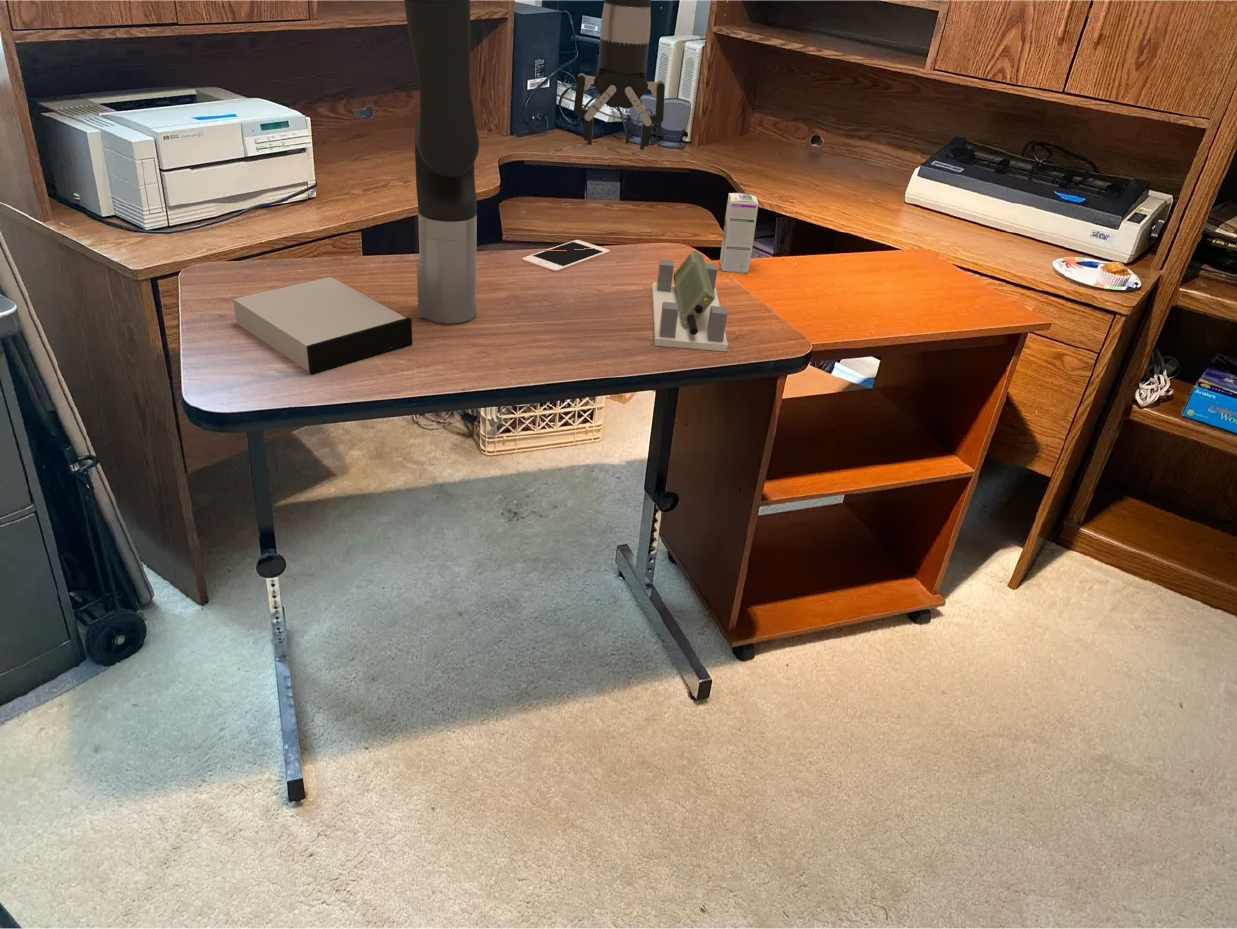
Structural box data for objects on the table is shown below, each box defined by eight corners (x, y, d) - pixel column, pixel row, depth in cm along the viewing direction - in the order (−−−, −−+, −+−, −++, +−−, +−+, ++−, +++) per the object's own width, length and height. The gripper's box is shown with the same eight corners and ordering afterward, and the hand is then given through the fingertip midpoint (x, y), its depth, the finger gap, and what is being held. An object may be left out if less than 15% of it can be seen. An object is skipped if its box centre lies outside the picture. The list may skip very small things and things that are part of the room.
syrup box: (749, 273, 187) (760, 202, 179) (720, 271, 187) (730, 199, 179) (746, 264, 192) (757, 194, 184) (717, 261, 192) (728, 191, 184)
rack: (654, 345, 153) (658, 310, 150) (652, 288, 175) (655, 257, 172) (726, 351, 153) (732, 316, 150) (714, 294, 175) (719, 262, 172)
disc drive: (312, 378, 134) (309, 347, 131) (235, 327, 146) (231, 297, 144) (413, 348, 145) (412, 318, 143) (333, 303, 158) (331, 275, 155)
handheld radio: (684, 285, 174) (697, 343, 153) (670, 275, 173) (681, 332, 152) (706, 257, 171) (723, 312, 150) (692, 247, 170) (707, 301, 149)
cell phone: (520, 262, 182) (521, 258, 182) (577, 243, 195) (577, 239, 195) (555, 274, 178) (556, 270, 178) (610, 254, 191) (611, 250, 191)
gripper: (577, 36, 138) (570, 147, 146) (671, 45, 138) (660, 156, 147) (579, 30, 144) (573, 137, 153) (670, 38, 145) (659, 145, 153)
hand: (615, 146), depth 150 cm, fingers open, 8 cm apart
